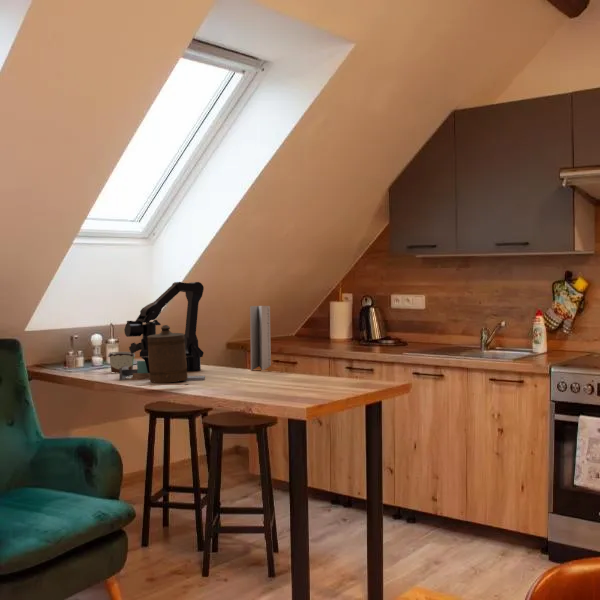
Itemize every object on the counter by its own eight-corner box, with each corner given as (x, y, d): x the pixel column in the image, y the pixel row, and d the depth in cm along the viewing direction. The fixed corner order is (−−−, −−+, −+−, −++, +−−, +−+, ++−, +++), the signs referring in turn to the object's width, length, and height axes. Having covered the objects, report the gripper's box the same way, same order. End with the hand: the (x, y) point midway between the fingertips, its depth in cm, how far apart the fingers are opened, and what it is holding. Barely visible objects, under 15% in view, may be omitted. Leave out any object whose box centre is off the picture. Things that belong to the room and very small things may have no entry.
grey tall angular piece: (263, 374, 341) (262, 305, 341) (250, 374, 342) (249, 305, 343) (270, 372, 355) (270, 305, 355) (259, 372, 356) (258, 306, 356)
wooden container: (172, 375, 325) (168, 322, 323) (195, 378, 315) (191, 323, 313) (142, 381, 314) (138, 326, 312) (165, 384, 304) (161, 327, 302)
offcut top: (162, 376, 331) (162, 372, 331) (161, 376, 328) (161, 373, 328) (133, 377, 330) (133, 373, 330) (132, 377, 327) (132, 373, 327)
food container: (139, 373, 361) (138, 351, 361) (134, 374, 355) (134, 352, 355) (112, 373, 362) (112, 351, 362) (108, 374, 356) (108, 352, 356)
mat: (205, 378, 329) (205, 375, 329) (204, 380, 319) (204, 377, 319) (176, 378, 328) (176, 376, 328) (174, 380, 318) (174, 378, 318)
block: (161, 376, 339) (161, 360, 340) (161, 377, 336) (160, 360, 337) (138, 377, 339) (138, 361, 339) (137, 377, 336) (137, 361, 336)
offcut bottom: (163, 379, 331) (163, 376, 331) (162, 380, 328) (162, 377, 328) (132, 380, 330) (132, 376, 330) (131, 381, 327) (131, 377, 327)
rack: (176, 375, 346) (176, 363, 346) (173, 379, 326) (173, 366, 327) (126, 376, 345) (126, 364, 345) (119, 380, 325) (119, 368, 325)
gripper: (132, 335, 346) (133, 371, 346) (127, 337, 328) (127, 374, 328) (158, 335, 347) (158, 370, 347) (154, 336, 329) (154, 374, 328)
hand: (149, 372), depth 338 cm, fingers closed on block, 3 cm apart
